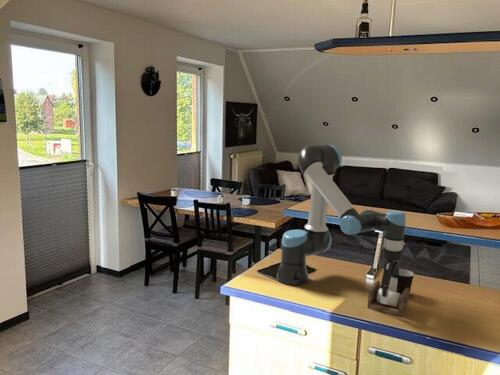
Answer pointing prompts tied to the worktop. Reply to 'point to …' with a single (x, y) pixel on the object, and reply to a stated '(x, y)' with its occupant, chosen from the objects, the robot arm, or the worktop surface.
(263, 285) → the worktop surface
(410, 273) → the coffee mug
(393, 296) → the roll
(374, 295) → the holder
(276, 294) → the worktop surface
